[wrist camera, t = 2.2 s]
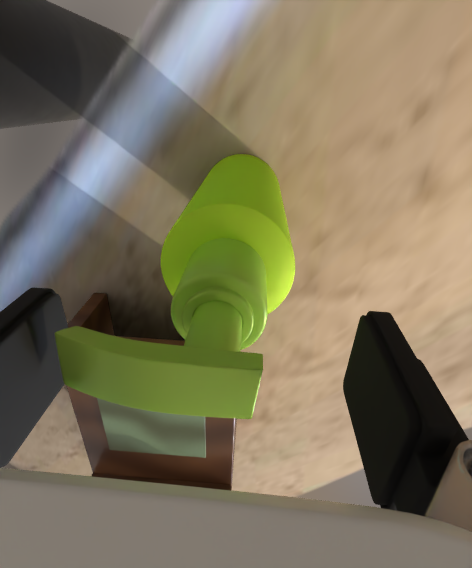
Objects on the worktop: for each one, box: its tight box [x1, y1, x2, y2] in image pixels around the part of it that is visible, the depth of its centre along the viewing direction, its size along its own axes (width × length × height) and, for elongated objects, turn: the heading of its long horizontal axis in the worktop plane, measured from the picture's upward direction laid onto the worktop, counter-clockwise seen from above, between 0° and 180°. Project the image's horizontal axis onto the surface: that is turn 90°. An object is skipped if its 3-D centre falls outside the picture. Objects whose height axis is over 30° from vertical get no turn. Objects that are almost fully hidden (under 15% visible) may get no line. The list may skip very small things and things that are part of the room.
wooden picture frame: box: [66, 293, 236, 491], centre depth 31 cm, size 18×14×10 cm
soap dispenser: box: [55, 154, 295, 419], centre depth 17 cm, size 6×7×20 cm
